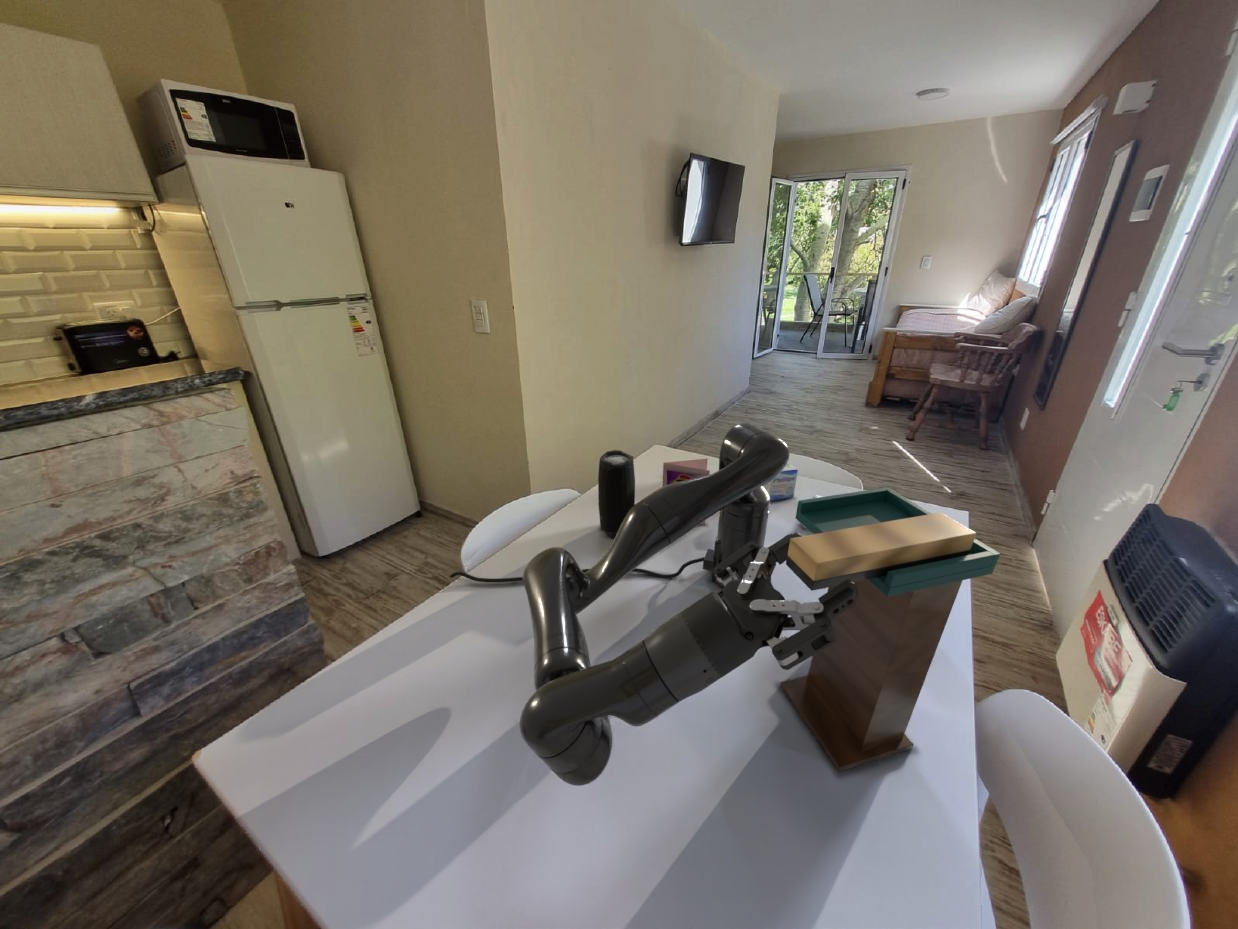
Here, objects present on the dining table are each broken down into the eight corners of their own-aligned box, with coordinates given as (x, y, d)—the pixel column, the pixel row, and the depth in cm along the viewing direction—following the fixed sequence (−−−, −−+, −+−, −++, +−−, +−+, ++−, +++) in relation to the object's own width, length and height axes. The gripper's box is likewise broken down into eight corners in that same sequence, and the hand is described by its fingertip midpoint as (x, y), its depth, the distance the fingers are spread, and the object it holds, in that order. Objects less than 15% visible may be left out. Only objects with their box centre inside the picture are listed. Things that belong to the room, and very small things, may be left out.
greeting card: (660, 517, 122) (662, 464, 116) (668, 503, 128) (671, 452, 122) (703, 526, 118) (708, 472, 112) (710, 512, 124) (715, 459, 118)
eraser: (811, 591, 48) (817, 563, 47) (785, 564, 52) (790, 538, 51) (967, 559, 53) (977, 533, 52) (932, 536, 57) (940, 511, 56)
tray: (887, 597, 49) (893, 575, 48) (795, 518, 63) (798, 500, 62) (992, 574, 52) (1000, 553, 51) (882, 504, 66) (887, 486, 65)
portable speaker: (601, 541, 112) (599, 466, 104) (597, 520, 121) (595, 449, 112) (637, 538, 113) (638, 463, 105) (631, 518, 122) (631, 447, 113)
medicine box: (768, 501, 129) (772, 472, 126) (759, 494, 133) (763, 466, 130) (793, 497, 131) (798, 469, 128) (784, 490, 135) (789, 462, 132)
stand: (838, 772, 63) (895, 587, 50) (779, 686, 76) (812, 520, 63) (912, 749, 66) (983, 568, 53) (843, 670, 79) (888, 507, 66)
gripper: (714, 682, 42) (867, 580, 42) (659, 581, 55) (777, 503, 55) (744, 721, 46) (885, 628, 46) (686, 619, 58) (797, 545, 58)
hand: (826, 560), depth 50 cm, fingers open, 8 cm apart
